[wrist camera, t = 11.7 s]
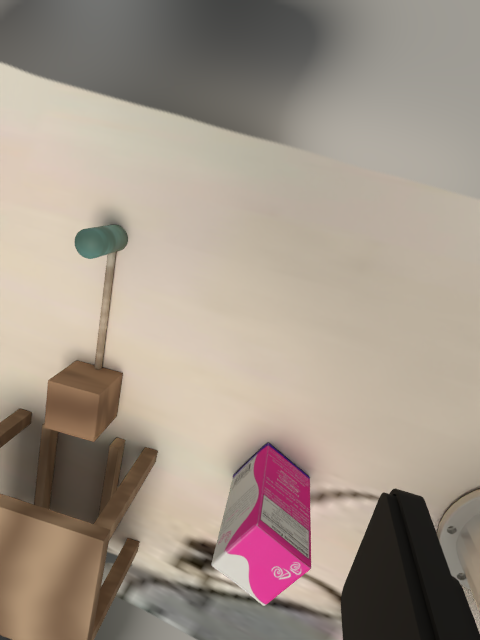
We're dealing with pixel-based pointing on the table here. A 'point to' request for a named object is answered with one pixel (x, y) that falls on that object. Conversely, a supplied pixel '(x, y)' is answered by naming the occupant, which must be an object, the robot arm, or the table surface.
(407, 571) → the robot arm
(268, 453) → the supplement box
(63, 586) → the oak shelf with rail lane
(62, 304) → the table surface
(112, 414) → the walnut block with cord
